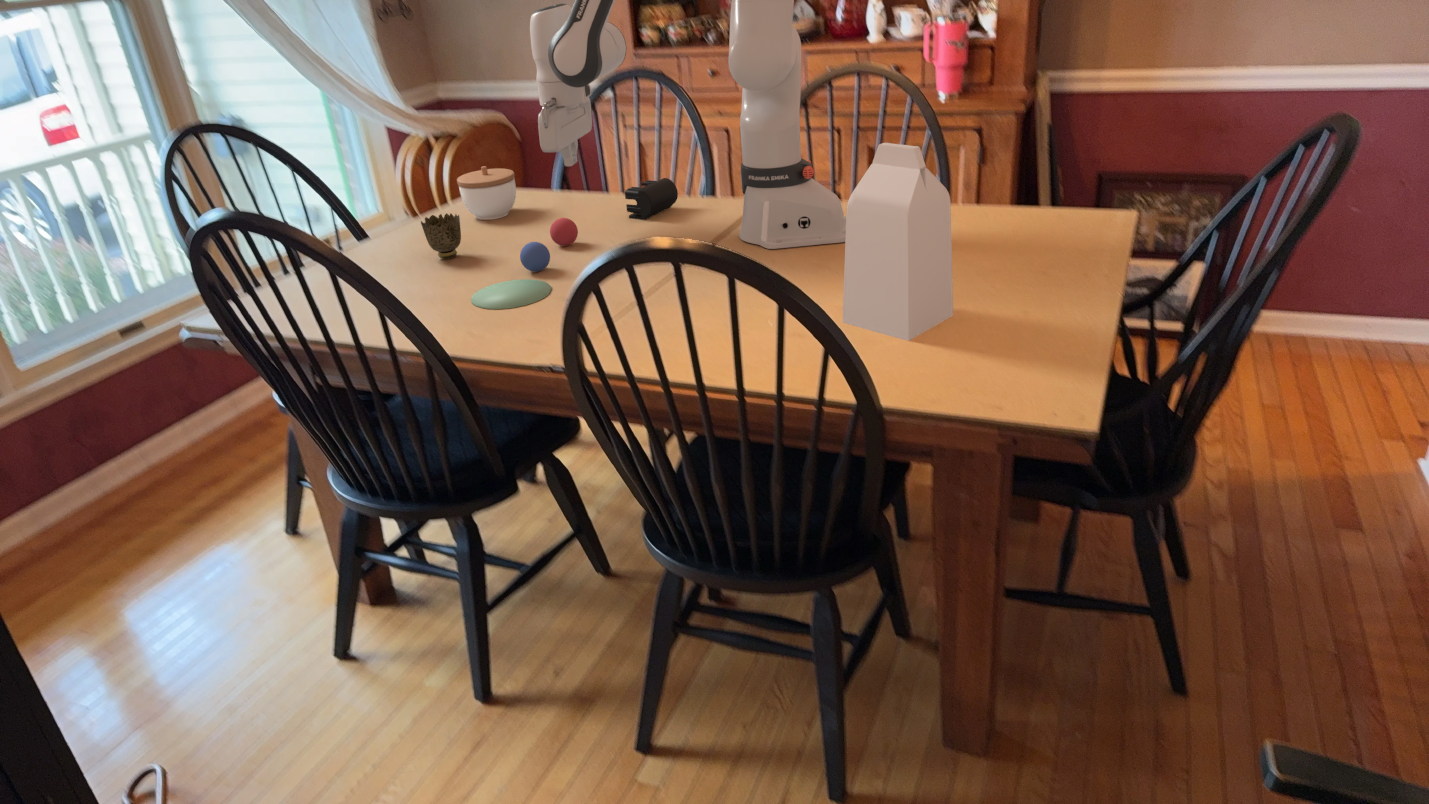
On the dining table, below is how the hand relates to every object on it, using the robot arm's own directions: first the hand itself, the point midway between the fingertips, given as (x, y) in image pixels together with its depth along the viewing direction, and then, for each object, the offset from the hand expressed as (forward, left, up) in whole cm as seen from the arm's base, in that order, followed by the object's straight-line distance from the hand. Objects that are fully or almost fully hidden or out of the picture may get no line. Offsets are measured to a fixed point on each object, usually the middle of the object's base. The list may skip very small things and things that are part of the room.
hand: (571, 164), depth 193 cm
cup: (+24, +15, -14) cm, 31 cm away
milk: (-63, +52, -14) cm, 83 cm away
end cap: (-13, -10, -14) cm, 22 cm away
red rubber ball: (+1, +10, -11) cm, 15 cm away
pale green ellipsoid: (+3, +36, -14) cm, 39 cm away
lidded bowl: (+25, -14, -14) cm, 32 cm away
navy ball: (+2, +24, -11) cm, 27 cm away
